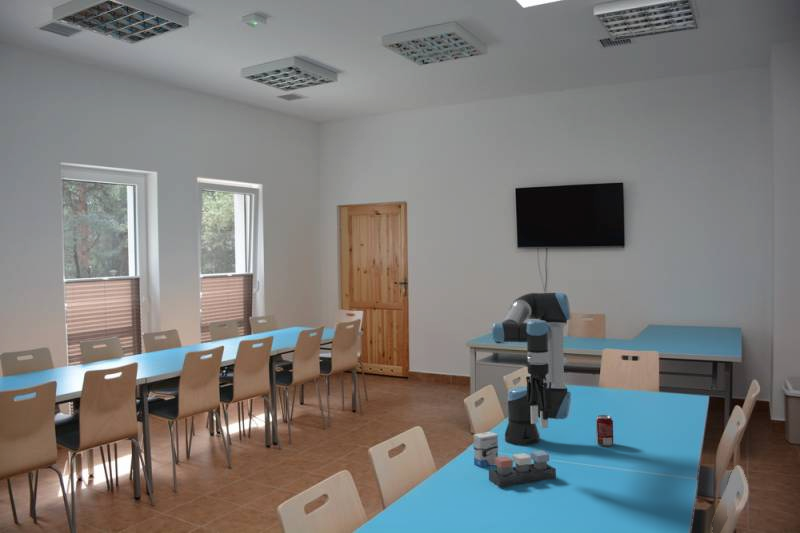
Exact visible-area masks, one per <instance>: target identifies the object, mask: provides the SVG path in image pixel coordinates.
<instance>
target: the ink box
mask: <svg viewBox="0 0 800 533" xmlns="http://www.w3.org/2000/svg"><path fill="white" fill-rule="evenodd" d="M498 435H499V434H497V433H494V432H493V431H486V432H480V433H475V434H473V460H474V461H473V463H474V465H475V466H477V467H480V468H484V467H485V466H486V467H489V466H494V464H495V461H494V457H499V436H498Z"/></svg>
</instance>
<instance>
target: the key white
mask: <svg viewBox="0 0 800 533" xmlns="http://www.w3.org/2000/svg"><path fill="white" fill-rule="evenodd" d="M512 460H513V463H514V464H515V467H516V470H517V471H518V472H520V473H523V472H529V464H532V459H531V455H529V454H527V453H524V452H523V453H517V454H512Z"/></svg>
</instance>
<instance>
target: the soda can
mask: <svg viewBox="0 0 800 533" xmlns="http://www.w3.org/2000/svg"><path fill="white" fill-rule="evenodd" d="M613 420H614V419H612V416H611V415H608V414H607V415H606V414H599V415H597V418H596V421H595V422H596V423H595V425H596V426H595V427H596V429H595V430H596V431H595V432H596V433H595V434H596V444H598V446H601V447H607V448H608V447H612V446H613V445H614V421H613Z"/></svg>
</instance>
